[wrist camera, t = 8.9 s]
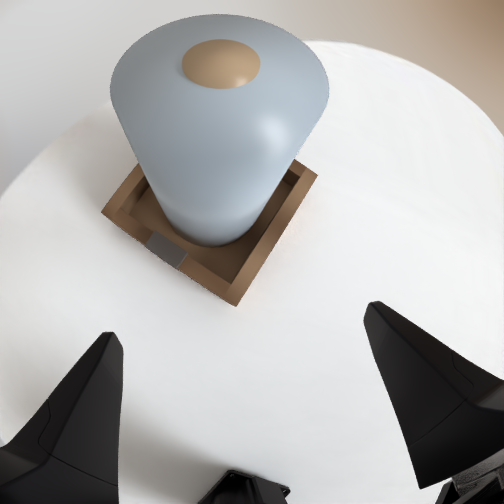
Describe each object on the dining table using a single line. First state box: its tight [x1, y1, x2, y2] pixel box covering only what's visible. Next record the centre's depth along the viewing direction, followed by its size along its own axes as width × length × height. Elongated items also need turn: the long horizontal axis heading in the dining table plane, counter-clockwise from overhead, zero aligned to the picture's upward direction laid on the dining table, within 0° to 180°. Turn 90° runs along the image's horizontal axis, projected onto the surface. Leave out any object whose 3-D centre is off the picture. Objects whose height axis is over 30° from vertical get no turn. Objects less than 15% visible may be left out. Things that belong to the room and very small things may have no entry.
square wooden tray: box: [101, 159, 318, 306], centre depth 19 cm, size 11×11×4 cm
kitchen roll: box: [110, 14, 329, 248], centre depth 13 cm, size 7×7×13 cm
